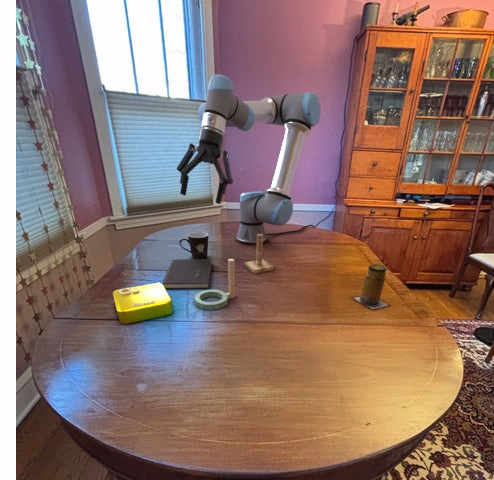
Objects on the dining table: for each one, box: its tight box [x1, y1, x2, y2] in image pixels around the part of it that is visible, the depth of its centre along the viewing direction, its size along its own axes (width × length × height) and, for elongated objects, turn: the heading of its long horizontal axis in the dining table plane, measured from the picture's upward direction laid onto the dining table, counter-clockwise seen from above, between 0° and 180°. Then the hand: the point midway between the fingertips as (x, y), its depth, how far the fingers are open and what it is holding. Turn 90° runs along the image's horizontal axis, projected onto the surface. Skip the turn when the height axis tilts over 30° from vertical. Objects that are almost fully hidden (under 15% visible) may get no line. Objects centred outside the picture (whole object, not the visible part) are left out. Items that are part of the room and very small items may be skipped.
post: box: [243, 234, 275, 274], centre depth 118 cm, size 9×9×14 cm
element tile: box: [112, 282, 174, 325], centre depth 89 cm, size 15×15×5 cm
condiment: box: [353, 263, 389, 310], centre depth 95 cm, size 7×8×12 cm
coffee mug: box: [178, 231, 210, 259], centre depth 127 cm, size 12×9×10 cm
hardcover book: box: [161, 258, 213, 290], centre depth 112 cm, size 16×23×2 cm
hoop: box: [193, 258, 236, 311], centre depth 93 cm, size 13×10×13 cm
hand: (200, 199), depth 104 cm, fingers open, 13 cm apart
